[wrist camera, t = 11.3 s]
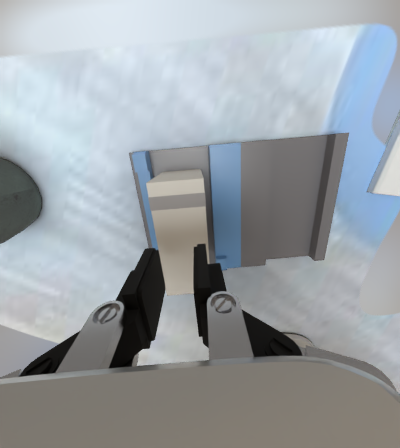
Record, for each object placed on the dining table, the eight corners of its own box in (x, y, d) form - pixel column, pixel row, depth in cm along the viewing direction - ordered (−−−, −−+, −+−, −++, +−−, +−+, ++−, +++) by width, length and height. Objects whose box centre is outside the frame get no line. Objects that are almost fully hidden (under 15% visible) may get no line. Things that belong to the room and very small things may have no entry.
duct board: (320, 251, 24) (334, 262, 22) (154, 265, 24) (150, 278, 22) (341, 133, 19) (363, 131, 17) (131, 152, 19) (122, 153, 17)
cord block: (206, 251, 23) (211, 292, 16) (174, 254, 23) (166, 296, 16) (200, 168, 19) (204, 178, 13) (162, 172, 19) (145, 183, 13)
